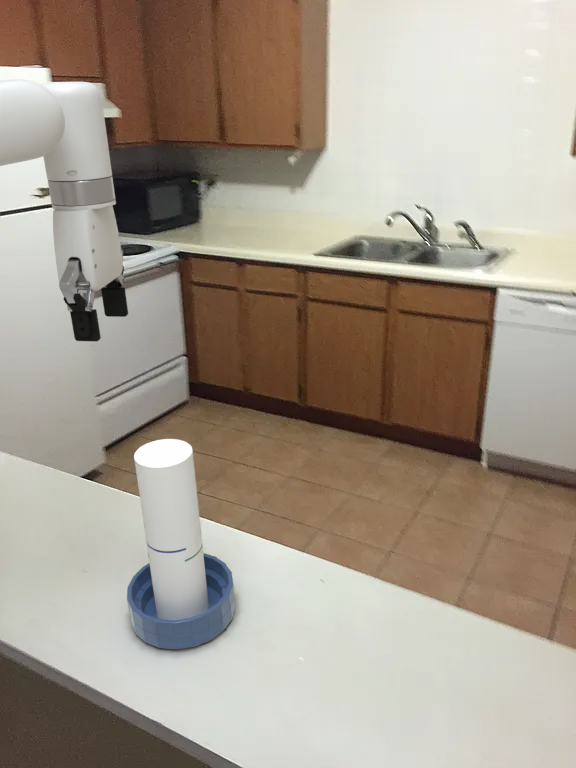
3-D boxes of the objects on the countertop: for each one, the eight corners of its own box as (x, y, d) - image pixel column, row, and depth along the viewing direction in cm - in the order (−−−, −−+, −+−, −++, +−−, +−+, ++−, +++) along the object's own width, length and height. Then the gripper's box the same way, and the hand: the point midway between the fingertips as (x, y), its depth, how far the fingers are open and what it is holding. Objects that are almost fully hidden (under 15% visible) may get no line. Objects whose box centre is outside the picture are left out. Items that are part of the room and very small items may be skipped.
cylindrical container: (152, 600, 95) (130, 445, 84) (202, 587, 97) (185, 434, 87) (162, 635, 88) (138, 472, 78) (214, 620, 91) (198, 460, 80)
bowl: (116, 648, 87) (111, 618, 85) (151, 576, 100) (147, 548, 98) (222, 656, 85) (219, 626, 83) (243, 582, 98) (241, 554, 96)
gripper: (82, 184, 89) (101, 307, 96) (17, 205, 74) (45, 350, 80) (136, 183, 88) (151, 308, 95) (82, 204, 73) (105, 351, 79)
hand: (103, 327), depth 88 cm, fingers open, 9 cm apart
